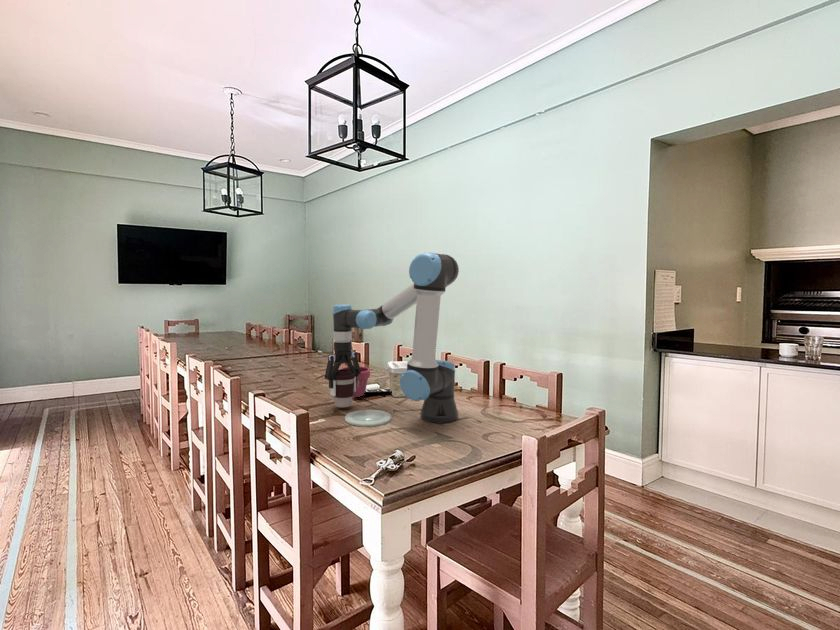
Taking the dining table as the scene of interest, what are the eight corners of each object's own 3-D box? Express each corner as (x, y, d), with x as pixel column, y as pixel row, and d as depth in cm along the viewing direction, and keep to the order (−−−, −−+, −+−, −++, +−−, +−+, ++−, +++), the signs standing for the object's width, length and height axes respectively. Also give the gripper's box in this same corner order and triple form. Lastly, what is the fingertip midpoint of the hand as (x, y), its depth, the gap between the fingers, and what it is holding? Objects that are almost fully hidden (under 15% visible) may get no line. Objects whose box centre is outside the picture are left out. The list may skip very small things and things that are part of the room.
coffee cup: (357, 402, 193) (357, 368, 192) (351, 409, 183) (351, 373, 182) (335, 402, 194) (335, 368, 193) (328, 408, 184) (328, 372, 183)
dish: (370, 409, 188) (370, 406, 187) (400, 419, 175) (400, 416, 175) (335, 419, 174) (335, 415, 174) (365, 430, 162) (365, 426, 162)
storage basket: (390, 398, 207) (390, 367, 205) (386, 390, 222) (386, 360, 221) (440, 396, 211) (441, 365, 210) (433, 388, 227) (433, 359, 226)
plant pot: (371, 398, 205) (372, 371, 204) (341, 400, 202) (341, 372, 201) (367, 391, 219) (367, 365, 218) (338, 392, 215) (338, 366, 215)
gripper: (357, 338, 198) (358, 387, 199) (314, 342, 181) (315, 396, 183) (368, 339, 193) (369, 390, 194) (325, 344, 176) (326, 399, 178)
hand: (343, 393), depth 189 cm, fingers closed on coffee cup, 10 cm apart
